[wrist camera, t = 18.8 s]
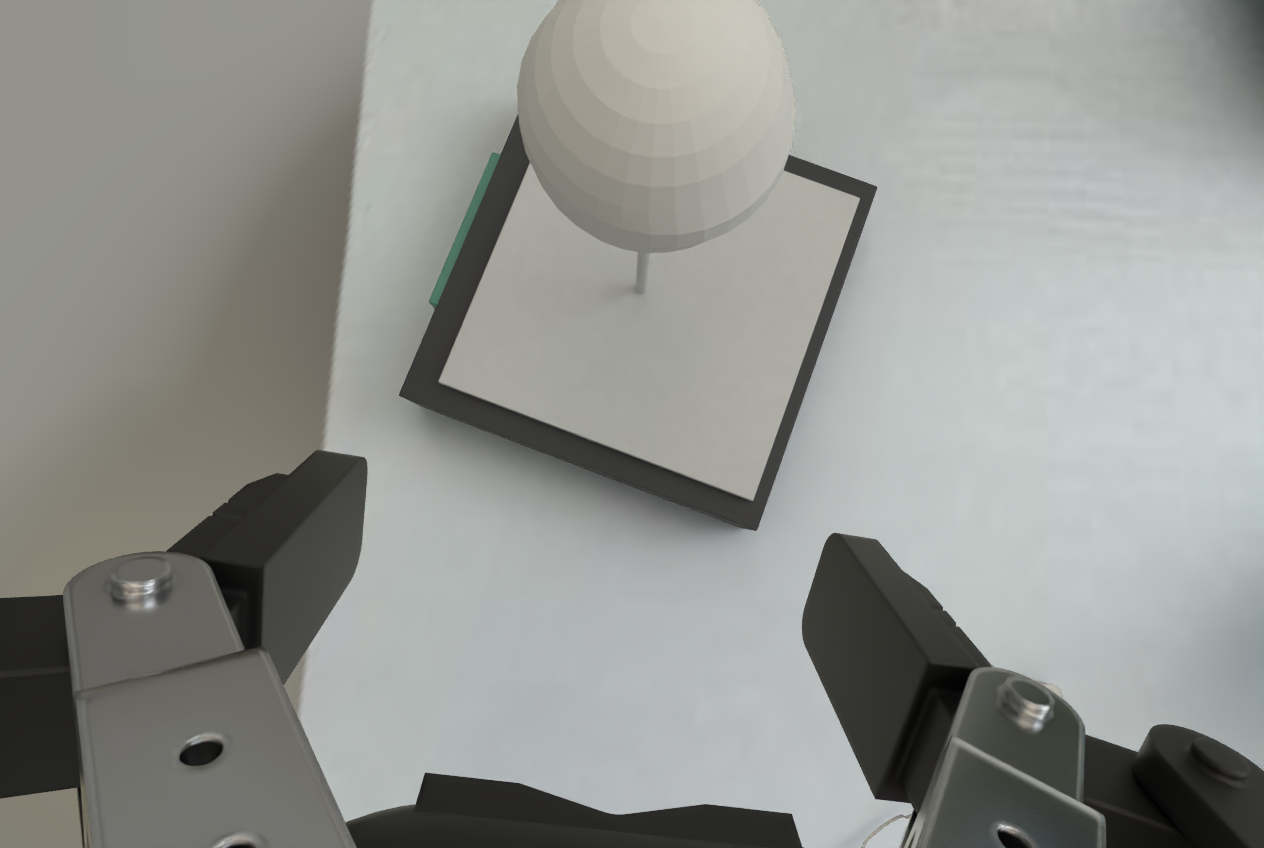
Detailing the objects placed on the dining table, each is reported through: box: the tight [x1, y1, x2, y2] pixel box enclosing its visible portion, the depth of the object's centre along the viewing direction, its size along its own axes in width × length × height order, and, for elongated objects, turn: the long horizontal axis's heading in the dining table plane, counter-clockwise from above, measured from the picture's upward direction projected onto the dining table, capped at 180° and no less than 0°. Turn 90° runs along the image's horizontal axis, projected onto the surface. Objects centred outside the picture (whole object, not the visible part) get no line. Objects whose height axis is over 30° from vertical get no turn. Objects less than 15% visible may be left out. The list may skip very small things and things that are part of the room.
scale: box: [399, 116, 877, 531], centre depth 29 cm, size 16×15×4 cm
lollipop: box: [517, 0, 796, 294], centre depth 20 cm, size 6×6×15 cm
